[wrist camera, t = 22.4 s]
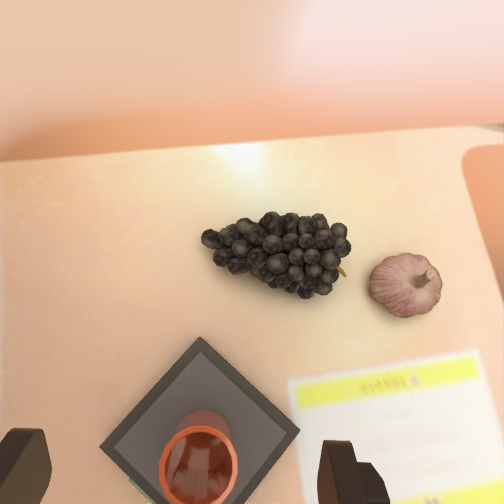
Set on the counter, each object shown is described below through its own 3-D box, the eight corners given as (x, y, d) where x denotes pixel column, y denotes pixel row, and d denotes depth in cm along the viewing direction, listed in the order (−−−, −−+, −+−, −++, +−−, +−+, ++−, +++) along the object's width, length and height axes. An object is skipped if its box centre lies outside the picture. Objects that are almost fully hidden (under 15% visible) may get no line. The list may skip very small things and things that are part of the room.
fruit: (190, 238, 34) (361, 276, 34) (213, 170, 38) (363, 204, 38) (190, 285, 41) (331, 316, 41) (209, 223, 45) (336, 252, 46)
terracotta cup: (203, 488, 35) (200, 531, 26) (159, 444, 35) (142, 473, 27) (244, 437, 36) (253, 463, 28) (201, 396, 36) (197, 409, 28)
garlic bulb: (354, 298, 43) (384, 287, 35) (381, 243, 45) (415, 220, 37) (415, 333, 43) (459, 329, 35) (439, 276, 45) (486, 260, 37)
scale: (203, 544, 36) (202, 562, 33) (102, 444, 37) (93, 452, 34) (295, 425, 39) (302, 431, 36) (200, 337, 41) (199, 335, 38)
